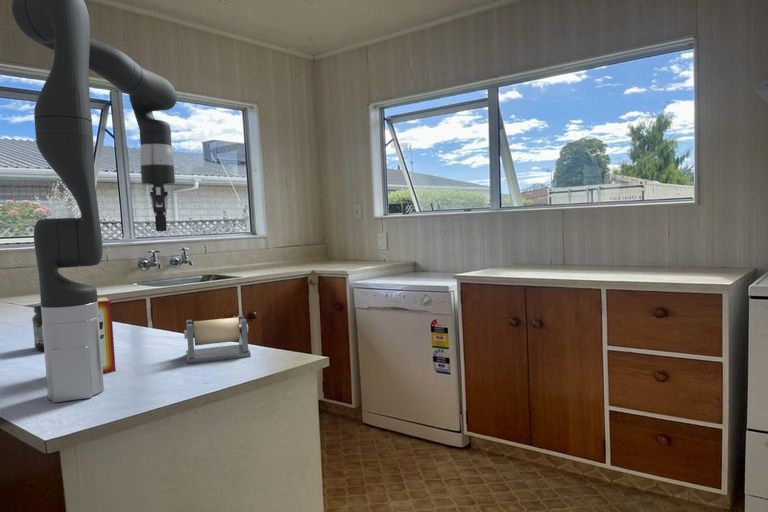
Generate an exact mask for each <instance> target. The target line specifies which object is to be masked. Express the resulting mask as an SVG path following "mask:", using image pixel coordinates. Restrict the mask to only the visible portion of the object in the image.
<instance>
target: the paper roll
mask: <svg viewBox="0 0 768 512" xmlns="http://www.w3.org/2000/svg"><path fill="white" fill-rule="evenodd" d="M183 331H184V332H183V335H184V336H183V337H184V340H187V339H188V336H187V329H184V330H183ZM240 333H241V325H239V320H238V316H237V317H228V318H218V319H217V318H216V319H208V320H207V319H205V320H195V321H193V341H194V347H195V346H203V345H204V346H205V345H213V344H215V345H216V344H223V343H229V342H230V343H231V342H232V343H233V342H239V340H240ZM247 333H249V325H248V323H247Z"/></svg>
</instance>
